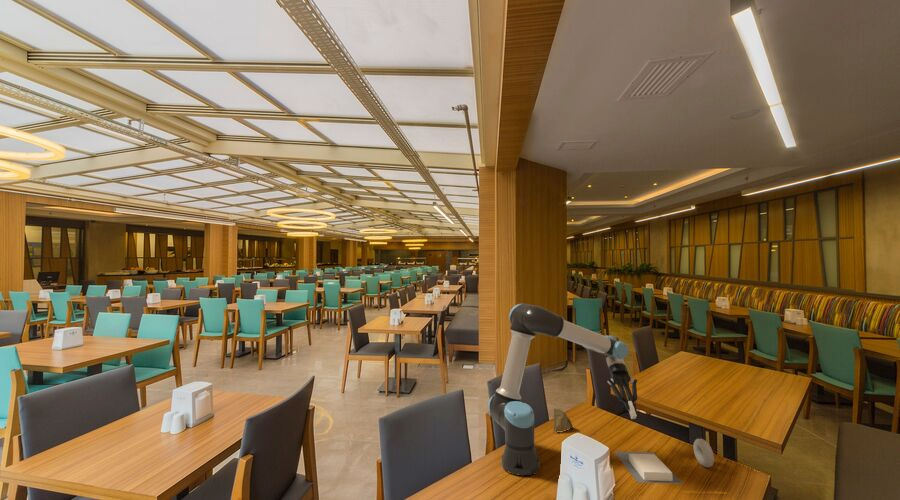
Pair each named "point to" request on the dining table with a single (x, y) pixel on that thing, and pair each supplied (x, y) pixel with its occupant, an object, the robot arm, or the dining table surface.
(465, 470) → the dining table surface
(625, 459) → the mat
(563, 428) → the rock
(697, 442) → the donut
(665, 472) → the tile
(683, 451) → the dining table surface
